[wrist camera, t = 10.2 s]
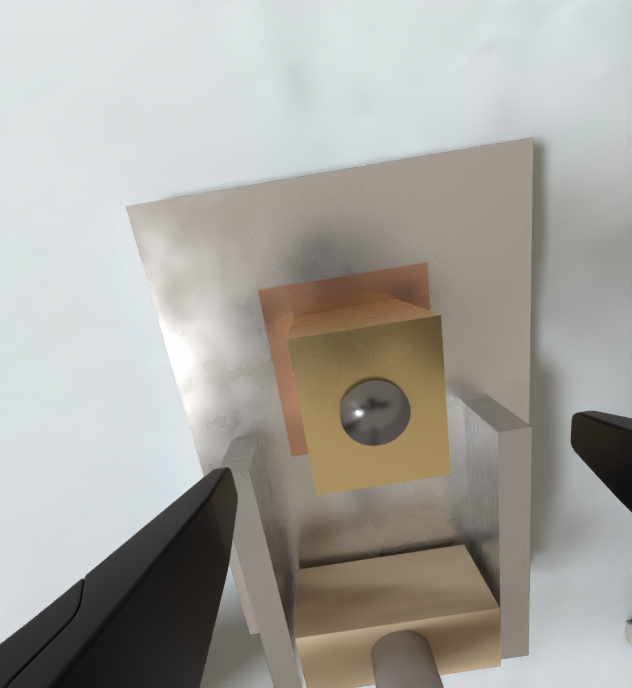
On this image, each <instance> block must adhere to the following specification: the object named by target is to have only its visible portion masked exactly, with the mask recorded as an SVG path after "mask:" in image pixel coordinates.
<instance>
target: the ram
mask: <svg viewBox="0 0 632 688" xmlns="http://www.w3.org/2000/svg"><path fill="white" fill-rule="evenodd" d="M295 640H296V644H297V648H298V653H299V657H300V661H301V665H302V669H303V673H304V677H305V682H306V686H307V688H355V687H362V686H369V685H376V688H444V687H443V684H442V681H441V678H440V675H444V674H451V673H458V672H465V671H472V670H479V669H485V668H492V667H499V666H501V650H500V607H499V606H498V604H497V602H496V600H495V599H494V597H493V595H492V593H491V591H490V590H489V588H488V586H487V584H486V583H485V581H484V579H483V577H482V575H481V574H480V572H479V570H478V568H477V567H476V565H475V563H474V561H473V560H472V558H471V556H470V554H469V552H468V551H467V549H466V547H465V545H457V546H451V547H444V548H438V549H431V550H425V551H418V552H411V553H405V554H398V555H392V556H385V557H378V558H372V559H365V560H359V561H352V562H345V563H339V564H332V565H326V566H319V567H312V568H306V569H299V570H297V598H296V627H295Z"/></svg>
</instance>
